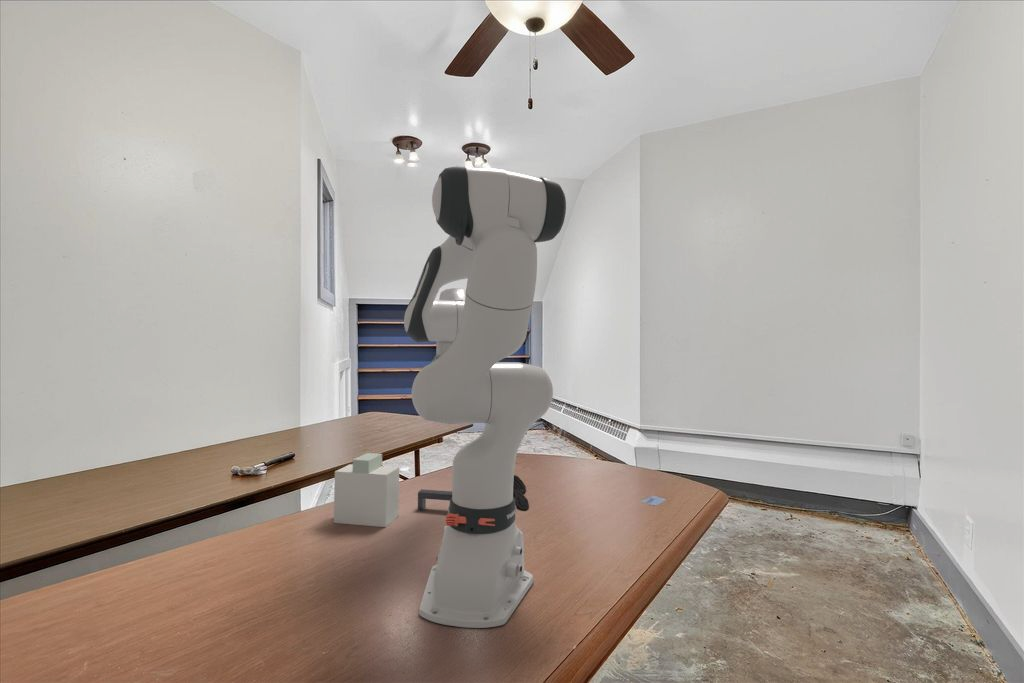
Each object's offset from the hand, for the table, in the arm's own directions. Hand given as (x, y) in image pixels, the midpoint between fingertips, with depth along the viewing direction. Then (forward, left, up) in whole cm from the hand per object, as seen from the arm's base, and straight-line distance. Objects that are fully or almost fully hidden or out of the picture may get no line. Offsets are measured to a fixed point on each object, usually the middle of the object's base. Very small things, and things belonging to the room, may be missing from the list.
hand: (452, 407), depth 120 cm
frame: (0, +3, -26) cm, 26 cm away
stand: (-10, +18, -26) cm, 33 cm away
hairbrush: (+15, -14, -27) cm, 34 cm away
